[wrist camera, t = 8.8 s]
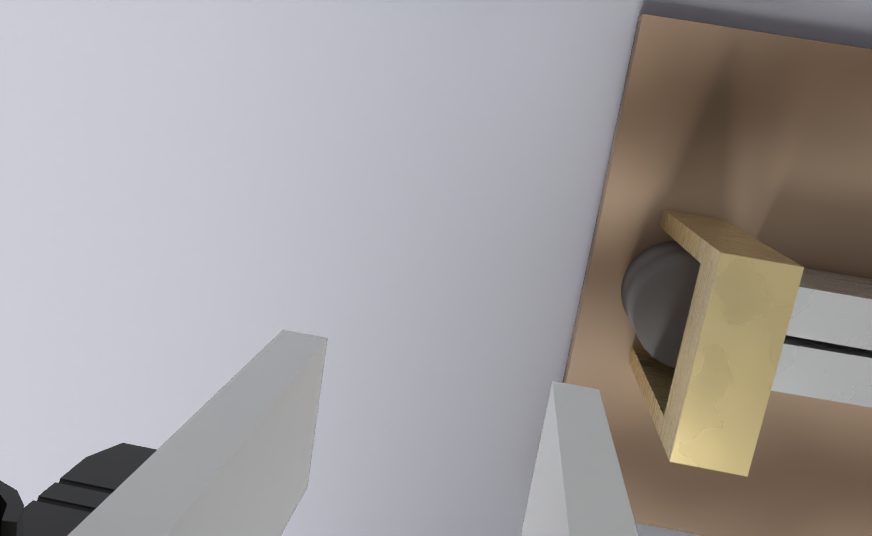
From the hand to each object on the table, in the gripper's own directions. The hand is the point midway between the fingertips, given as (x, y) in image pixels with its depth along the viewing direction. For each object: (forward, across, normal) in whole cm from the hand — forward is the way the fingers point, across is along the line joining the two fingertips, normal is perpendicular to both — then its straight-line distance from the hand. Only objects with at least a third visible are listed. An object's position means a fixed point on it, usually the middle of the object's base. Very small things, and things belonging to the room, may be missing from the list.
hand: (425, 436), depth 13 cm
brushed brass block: (+15, -7, 0) cm, 17 cm away
